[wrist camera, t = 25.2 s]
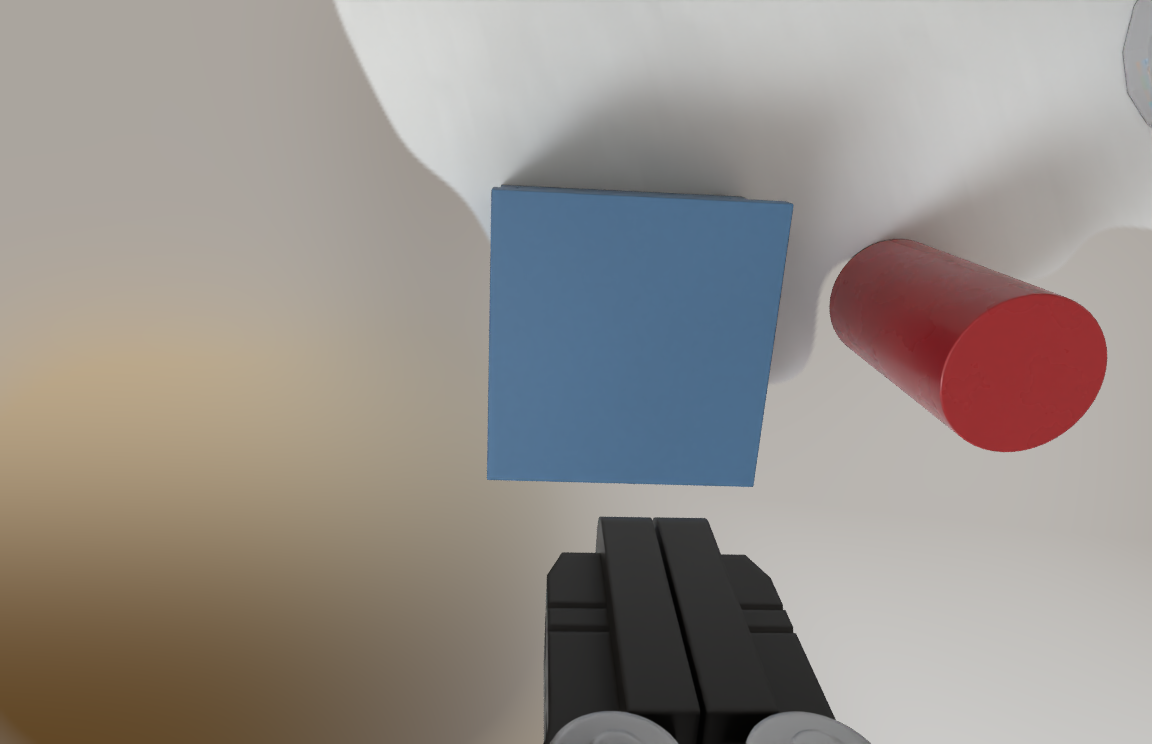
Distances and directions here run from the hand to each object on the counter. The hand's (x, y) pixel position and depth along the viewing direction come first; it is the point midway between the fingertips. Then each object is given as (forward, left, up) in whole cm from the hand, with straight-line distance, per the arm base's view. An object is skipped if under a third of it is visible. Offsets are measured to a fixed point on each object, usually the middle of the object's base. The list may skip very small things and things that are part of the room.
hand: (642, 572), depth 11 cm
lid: (+3, +2, -21) cm, 21 cm away
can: (+2, +16, -28) cm, 32 cm away
